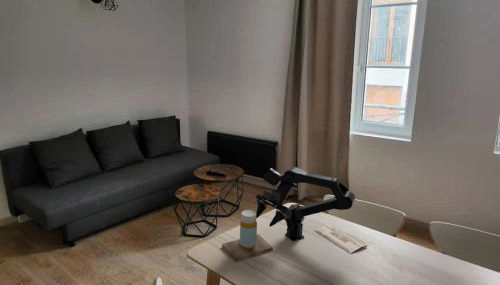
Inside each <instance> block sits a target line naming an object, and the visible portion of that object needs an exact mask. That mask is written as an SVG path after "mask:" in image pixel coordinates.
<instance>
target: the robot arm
mask: <svg viewBox="0 0 500 285" xmlns="http://www.w3.org/2000/svg"><path fill="white" fill-rule="evenodd" d="M263 182H265V183H266V184H268V185H270V186H271V187H273V188H274V187H277V188H276V189H273V190H272V191H271V190H267V189H264V190H263V192H262V194H261V193H258V194H256V196H255V199H256V200H255V201H256V202H257V208H256V211H255V212H256V219H258V218H259V217H260V216H261V215H262V214H263V213H264V211H265V210H266V209H267V208H268V206H270V207H271V208H273V209H275V215H274V216H273V218H272V219H271V221H270V223H269V225H268V226H269V227H271V228H272V227H273V226H275V225H276V224H278V223H279V222H281V221H283V220H284V221H285V223H286V233H284V236H286V237H287V238H288V239H290V240H291V241H292V242H295V241H299V240H301V239H305V236H304V235H303V227H304V224H303V222H304V220H305V217H308V216H311V215H316V214H318V213H319V214H320V213H324V212H327V211H331V210H337V211H345V210H350V209H351V208H352V207H353V205H354V202H355V200H356V196H355V193H353V192H352V191H350V190H349V189H348V187H347V186H346V185H345V184H343V183H342V182H341V181H340V179H339V178H338V177H330V176H327V175H326V176H325V175H321V174H316V173H310V172H307V171H305V170H303V169H302V168H300V167H296V166H291V167H289V168H288V169H286V171H284V172H282V173H280V172H278V171H276V170H275V169H274V168H270V169H268V171H267V172H266V174H265V175H264V177H263ZM302 183H303V184H308V185H313V186H317V187H323V188H326V189H330V191H331V192H332V193H333V194H332V195H333V196H334V197H332V198H328V199H326V200H325V199H324V200H321V201H318V202H314V203H311V204H307V205H300V202H298V203H295V204H290V206H289V207H287V206H285V205H284V202H285V201H288V196H289V194H290V193H291V192H292V190H293V189H294V190H295V191H297V190H298V184H302Z"/></svg>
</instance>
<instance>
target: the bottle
mask: <svg viewBox="0 0 500 285" xmlns="http://www.w3.org/2000/svg"><path fill="white" fill-rule="evenodd" d="M240 216H241V217H240V218H241V220H240V224H239V239H240V245H241V247H242V248H244V249H252V248H254V247H255V246H256V239H257V234H258V232H257V231H258V222H257V218H256V211H255V210H253V209H245V210H242V211H241V215H240Z"/></svg>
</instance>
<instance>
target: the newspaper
mask: <svg viewBox="0 0 500 285" xmlns="http://www.w3.org/2000/svg"><path fill="white" fill-rule="evenodd" d="M314 232H316V233H317V234H319V236H322V237H324V239H326V240H328V241H330V242H331V243H333V244H334V245H336V246H338V247H339V248H340V247H341V248H340V249H342V250H344V251H345V252H347V253H348V254H350V255H351V254H352V253H353V252H355V251H357V250H358V249H360V248H361V247H366V248H367V247H368V243H366V242H365V241H363V240H361V239H359V238H357V237H355V236H353V235H352V234H350V233H348V232H346V231H344V230H342V229H340V227H337V226H335V225H334V224H332V223H327V224H325V225H322V226H320V227H318V228H316V229H315V230H314ZM361 249H362V248H361Z"/></svg>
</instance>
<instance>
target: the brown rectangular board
mask: <svg viewBox="0 0 500 285" xmlns="http://www.w3.org/2000/svg"><path fill="white" fill-rule="evenodd" d="M221 245H222V246H221V247H222V249H223V250H224V251H225V252H226V253H227V255H228V256H229V257H230V258H231V259H232V260H233V261H234V262H235V263H236V262H238V261H242V260H246V259H250V258H253V257H255V256H258V255H262V254H265V253H269V252H272V251H274V247H273V246H272V245H271V244H270V243H269V242H268V241H267V240H266V239H265V238H264V237H262V235H261V234H259V233H257V239H256V246H255V247H254V248H252V249H244V248H242V247H241V245H240V238H239V239H234V240H231V241H228V242H225V243H222V244H221Z"/></svg>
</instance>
